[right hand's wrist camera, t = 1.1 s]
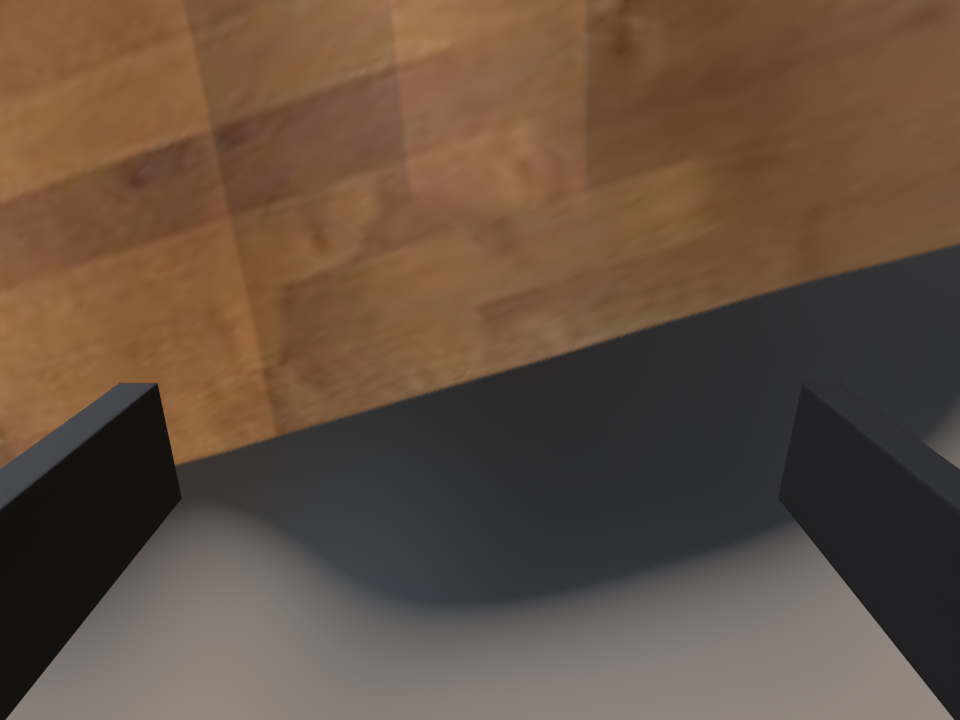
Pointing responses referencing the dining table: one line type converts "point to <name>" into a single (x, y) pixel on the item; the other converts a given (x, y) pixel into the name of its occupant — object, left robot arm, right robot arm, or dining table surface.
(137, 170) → the dining table surface
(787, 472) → the right robot arm
